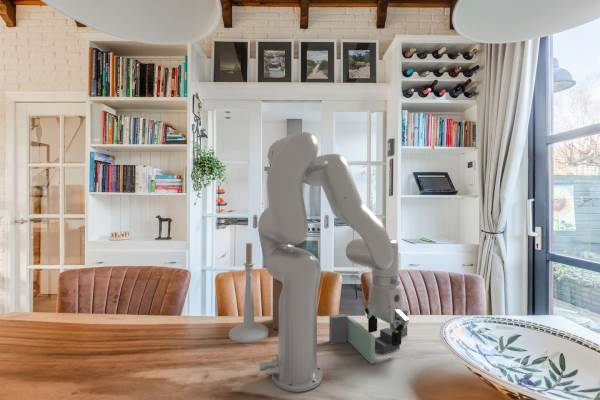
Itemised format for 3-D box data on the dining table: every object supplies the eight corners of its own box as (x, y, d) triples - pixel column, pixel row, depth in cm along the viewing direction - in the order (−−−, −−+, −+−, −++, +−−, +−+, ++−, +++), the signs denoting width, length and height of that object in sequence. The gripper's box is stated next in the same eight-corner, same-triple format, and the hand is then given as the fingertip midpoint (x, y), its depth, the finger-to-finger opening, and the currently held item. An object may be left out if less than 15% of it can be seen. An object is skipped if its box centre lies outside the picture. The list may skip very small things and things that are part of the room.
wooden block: (302, 330, 101) (302, 271, 101) (272, 330, 101) (272, 270, 101) (302, 319, 111) (302, 264, 111) (275, 318, 111) (275, 264, 111)
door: (345, 338, 94) (345, 316, 94) (349, 337, 95) (349, 315, 95) (370, 363, 80) (370, 337, 80) (375, 362, 80) (375, 336, 80)
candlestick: (261, 344, 91) (262, 245, 91) (222, 340, 93) (222, 244, 93) (272, 326, 104) (273, 239, 104) (237, 323, 106) (238, 238, 106)
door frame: (331, 343, 92) (331, 317, 92) (329, 340, 94) (329, 315, 94) (407, 335, 98) (407, 310, 98) (403, 332, 100) (403, 308, 100)
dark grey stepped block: (387, 342, 93) (387, 327, 93) (399, 349, 89) (399, 334, 89) (372, 346, 90) (372, 331, 90) (384, 354, 86) (384, 338, 86)
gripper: (417, 286, 84) (416, 347, 84) (373, 272, 99) (373, 324, 99) (397, 290, 80) (397, 354, 80) (355, 275, 95) (355, 329, 95)
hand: (384, 338), depth 89 cm, fingers open, 9 cm apart
